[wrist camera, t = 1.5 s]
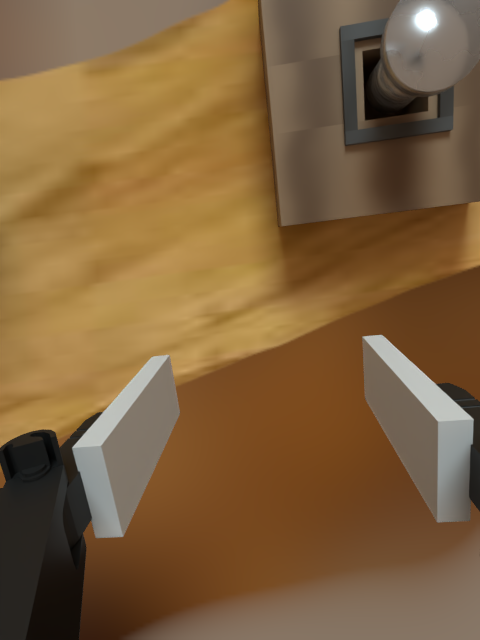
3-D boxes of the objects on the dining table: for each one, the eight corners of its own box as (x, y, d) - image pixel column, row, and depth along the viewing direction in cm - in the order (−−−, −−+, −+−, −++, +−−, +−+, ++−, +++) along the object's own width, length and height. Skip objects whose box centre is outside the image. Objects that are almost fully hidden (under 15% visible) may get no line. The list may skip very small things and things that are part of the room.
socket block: (278, 226, 40) (281, 226, 31) (258, 15, 35) (256, -51, 27) (469, 202, 38) (525, 195, 30) (475, -25, 33) (545, -109, 25)
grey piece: (355, 131, 31) (387, 97, 23) (351, 52, 29) (385, -16, 21) (428, 121, 30) (488, 82, 22) (428, 39, 29) (492, -36, 21)
